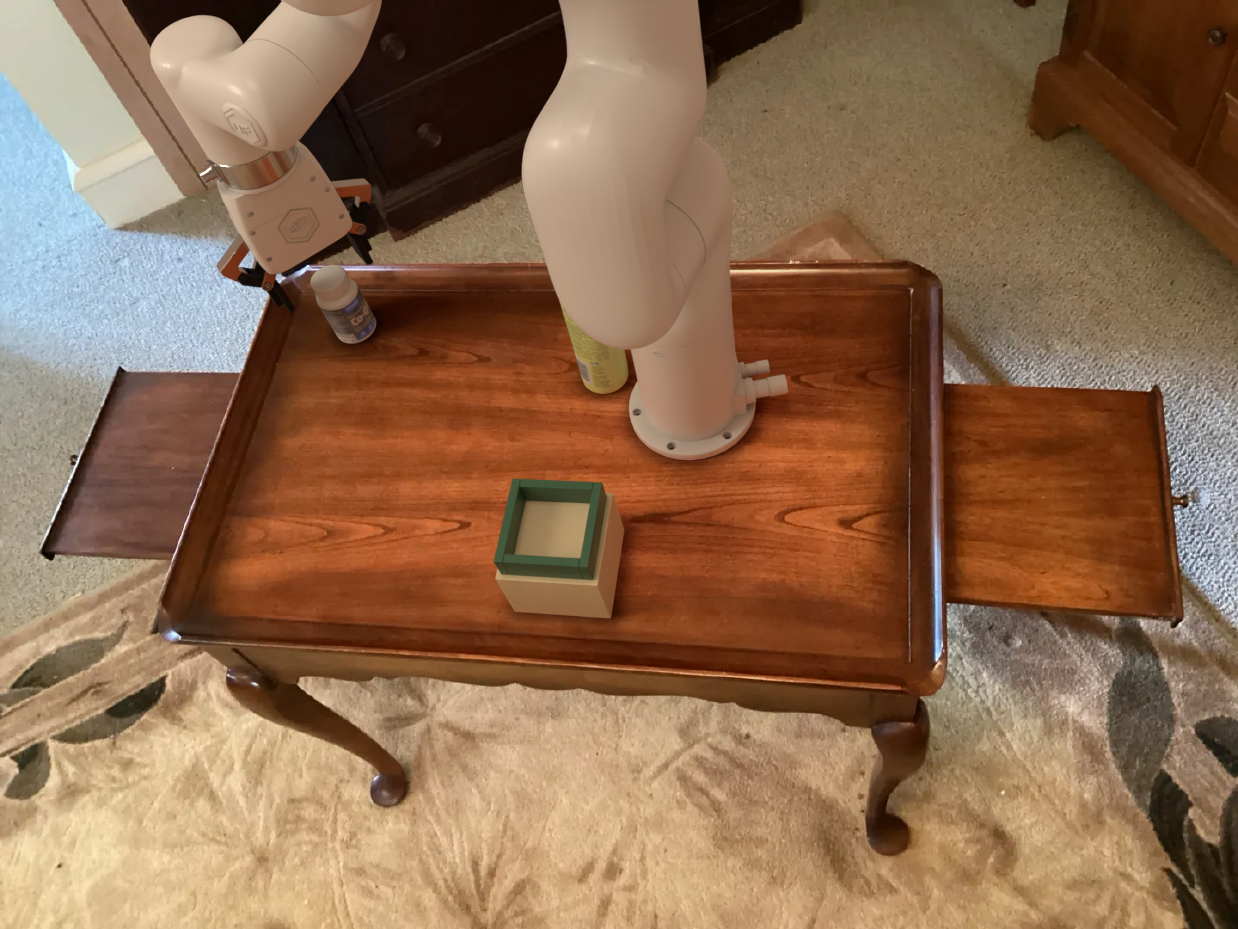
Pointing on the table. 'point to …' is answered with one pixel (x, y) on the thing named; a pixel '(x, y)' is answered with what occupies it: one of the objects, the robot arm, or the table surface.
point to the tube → (597, 361)
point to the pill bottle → (343, 304)
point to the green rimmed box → (559, 548)
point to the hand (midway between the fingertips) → (326, 280)
